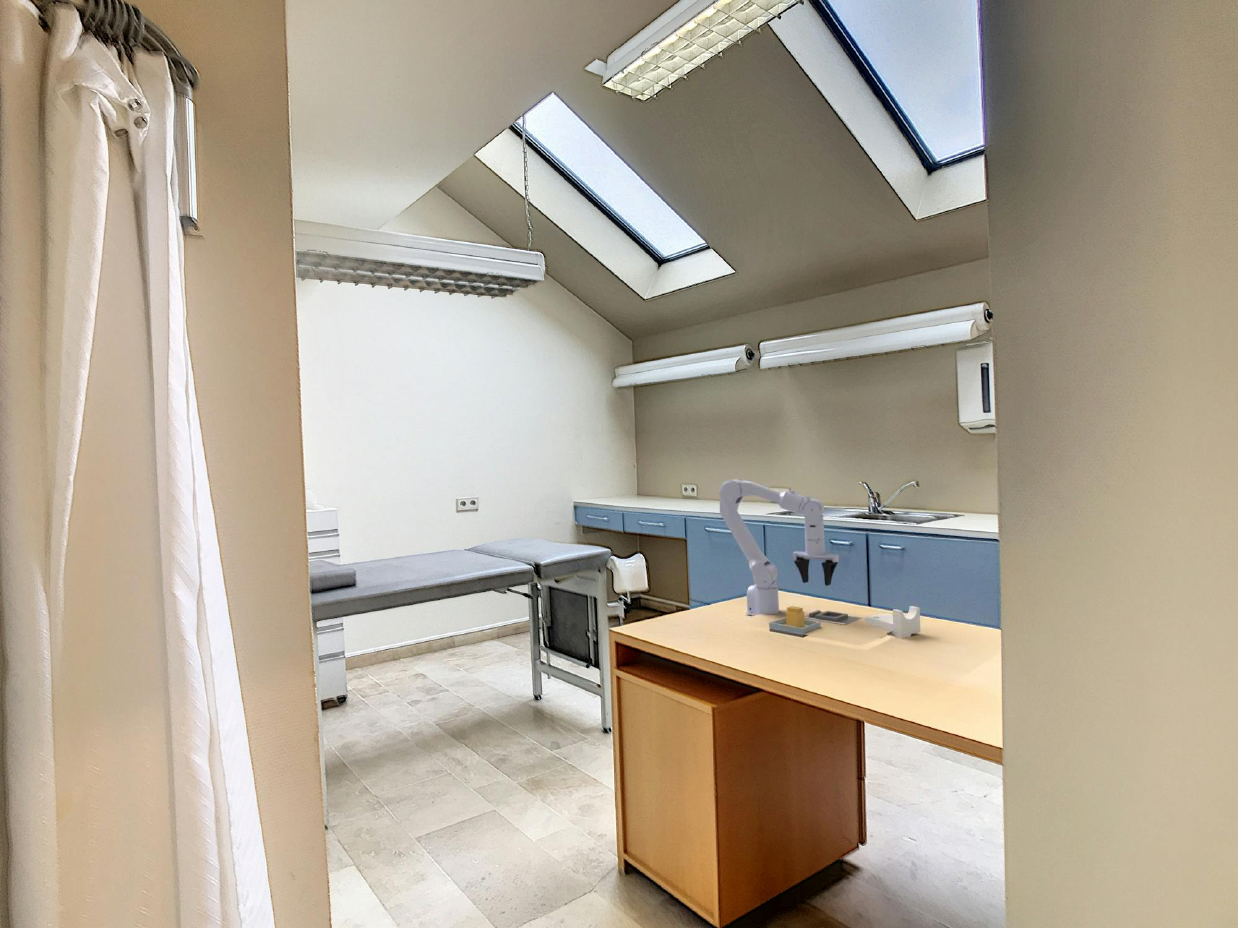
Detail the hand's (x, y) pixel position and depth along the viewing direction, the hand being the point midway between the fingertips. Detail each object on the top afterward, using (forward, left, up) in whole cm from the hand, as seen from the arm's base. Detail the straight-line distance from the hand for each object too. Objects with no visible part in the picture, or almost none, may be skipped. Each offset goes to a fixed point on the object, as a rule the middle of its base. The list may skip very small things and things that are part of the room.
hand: (816, 583), depth 215 cm
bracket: (+24, -1, -11) cm, 26 cm away
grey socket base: (+6, -2, -10) cm, 12 cm away
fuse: (+3, -17, -10) cm, 20 cm away
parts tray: (+3, -17, -10) cm, 20 cm away
